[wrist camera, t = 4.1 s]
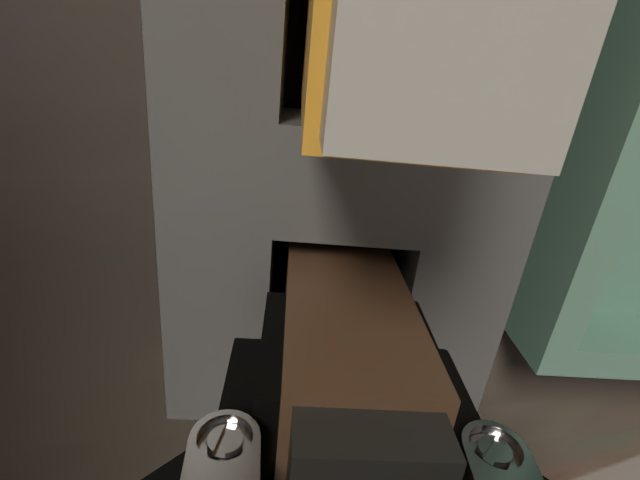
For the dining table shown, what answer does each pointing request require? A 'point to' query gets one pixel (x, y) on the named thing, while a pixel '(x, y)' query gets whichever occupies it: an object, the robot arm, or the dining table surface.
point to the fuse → (449, 80)
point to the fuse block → (300, 203)
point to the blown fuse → (360, 374)
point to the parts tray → (591, 231)
